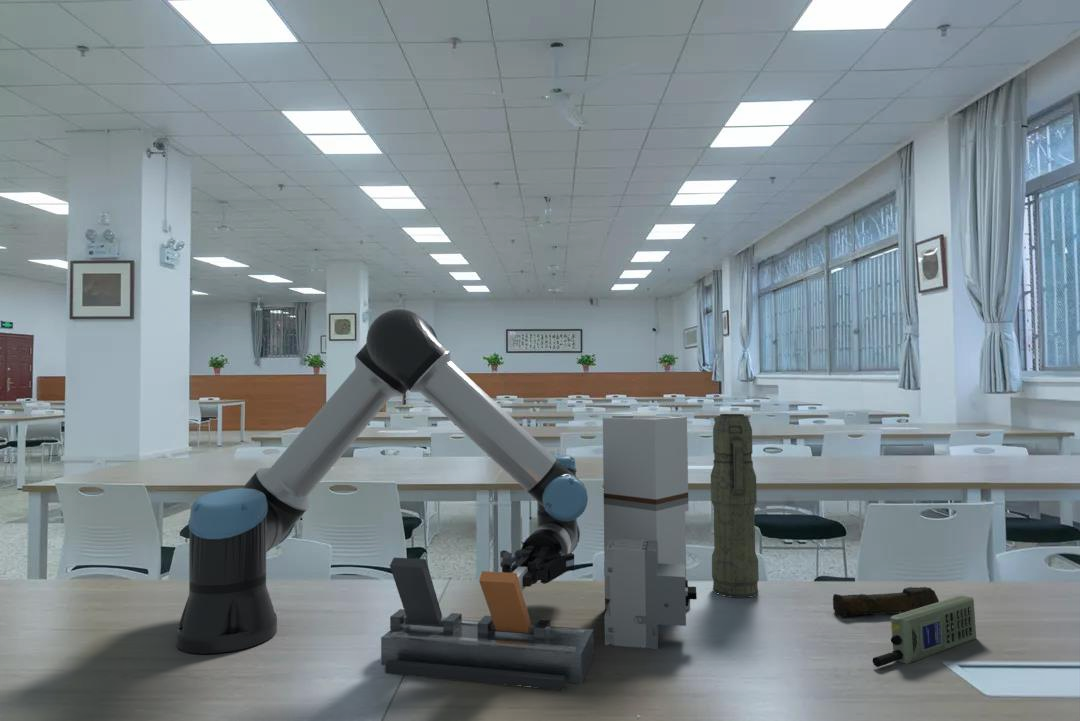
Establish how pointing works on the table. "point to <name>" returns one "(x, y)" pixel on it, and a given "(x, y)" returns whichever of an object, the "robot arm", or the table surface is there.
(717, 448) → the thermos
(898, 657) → the handheld radio
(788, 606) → the table surface
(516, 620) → the lever
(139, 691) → the table surface
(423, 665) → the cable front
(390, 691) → the table surface
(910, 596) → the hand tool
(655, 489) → the white banded pillar
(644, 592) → the circuit breaker
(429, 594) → the lever on
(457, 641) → the grey slotted holder
